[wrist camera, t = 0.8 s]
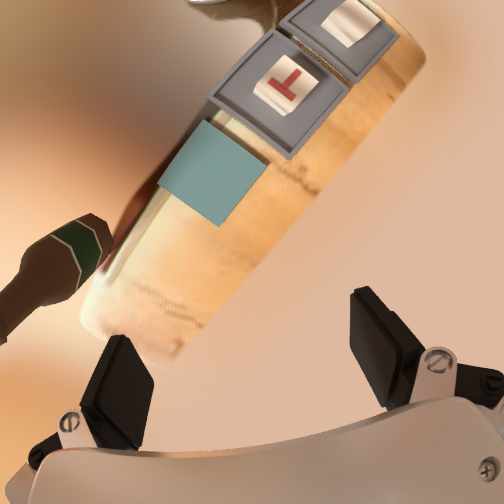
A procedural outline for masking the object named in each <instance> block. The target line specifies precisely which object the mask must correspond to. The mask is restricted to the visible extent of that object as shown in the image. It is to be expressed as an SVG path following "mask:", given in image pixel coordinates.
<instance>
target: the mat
mask: <svg viewBox="0 0 504 504" xmlns="http://www.w3.org/2000/svg"><path fill="white" fill-rule="evenodd" d="M266 167H267V166H266V165H265V164H263V163H262V162H261V161H260V160H258V159H257V158H256V157H254V156H253V155H252V154H251V153H249V152H248V151H247V150H245V149H244V148H243V147H241V146H240V145H239V144H237V143H236V142H235V141H233V140H232V139H231V138H229V137H228V136H226V135H225V134H224V133H222V132H221V131H220V130H218V129H217V128H215V127H214V126H213V125H211V124H210V123H208V122H207V121H205V120H204V119H203V121H202V122H201V123H200V124H199V126H198V127H197V128H196V130H195V131H194V132H193V133H192V135H191V136H190V137H189V139H188V140H187V141H186V143H185V144H184V145H183V147H182V148H181V149H180V151H179V152H178V154H177V155H176V156H175V158H174V159H173V161H172V162H171V163H170V165H169V166H168V168H167V169H166V171H165V172H164V174H163V175H162V177H161V178H160V179H159V181H158V182H157V184H159V185H160V186H162V187H163V188H164V189H166V190H167V191H169V192H170V193H171V194H173V195H174V196H176V197H177V198H178V199H180V200H181V201H183V202H184V203H185V204H187V205H188V206H190V207H191V208H193V209H194V210H195V211H197V212H198V213H200V214H201V215H202V216H204V217H205V218H207V219H208V220H209V221H211V222H212V223H214V224H215V225H216V226H218V227H220V225H221V224H222V223H223V221H224V220H225V219H226V218H227V216H228V215H229V214H230V212H231V211H232V210H233V209H234V207H235V206H236V205H237V203H238V202H239V201H240V200H241V198H242V197H243V196H244V195H245V193H246V192H247V191H248V190H249V188H250V187H251V186H252V184H253V183H254V182H255V181H256V180H257V178H258V177H259V176H260V175H261V173H262V172H263V171H264V170H265V168H266Z"/></svg>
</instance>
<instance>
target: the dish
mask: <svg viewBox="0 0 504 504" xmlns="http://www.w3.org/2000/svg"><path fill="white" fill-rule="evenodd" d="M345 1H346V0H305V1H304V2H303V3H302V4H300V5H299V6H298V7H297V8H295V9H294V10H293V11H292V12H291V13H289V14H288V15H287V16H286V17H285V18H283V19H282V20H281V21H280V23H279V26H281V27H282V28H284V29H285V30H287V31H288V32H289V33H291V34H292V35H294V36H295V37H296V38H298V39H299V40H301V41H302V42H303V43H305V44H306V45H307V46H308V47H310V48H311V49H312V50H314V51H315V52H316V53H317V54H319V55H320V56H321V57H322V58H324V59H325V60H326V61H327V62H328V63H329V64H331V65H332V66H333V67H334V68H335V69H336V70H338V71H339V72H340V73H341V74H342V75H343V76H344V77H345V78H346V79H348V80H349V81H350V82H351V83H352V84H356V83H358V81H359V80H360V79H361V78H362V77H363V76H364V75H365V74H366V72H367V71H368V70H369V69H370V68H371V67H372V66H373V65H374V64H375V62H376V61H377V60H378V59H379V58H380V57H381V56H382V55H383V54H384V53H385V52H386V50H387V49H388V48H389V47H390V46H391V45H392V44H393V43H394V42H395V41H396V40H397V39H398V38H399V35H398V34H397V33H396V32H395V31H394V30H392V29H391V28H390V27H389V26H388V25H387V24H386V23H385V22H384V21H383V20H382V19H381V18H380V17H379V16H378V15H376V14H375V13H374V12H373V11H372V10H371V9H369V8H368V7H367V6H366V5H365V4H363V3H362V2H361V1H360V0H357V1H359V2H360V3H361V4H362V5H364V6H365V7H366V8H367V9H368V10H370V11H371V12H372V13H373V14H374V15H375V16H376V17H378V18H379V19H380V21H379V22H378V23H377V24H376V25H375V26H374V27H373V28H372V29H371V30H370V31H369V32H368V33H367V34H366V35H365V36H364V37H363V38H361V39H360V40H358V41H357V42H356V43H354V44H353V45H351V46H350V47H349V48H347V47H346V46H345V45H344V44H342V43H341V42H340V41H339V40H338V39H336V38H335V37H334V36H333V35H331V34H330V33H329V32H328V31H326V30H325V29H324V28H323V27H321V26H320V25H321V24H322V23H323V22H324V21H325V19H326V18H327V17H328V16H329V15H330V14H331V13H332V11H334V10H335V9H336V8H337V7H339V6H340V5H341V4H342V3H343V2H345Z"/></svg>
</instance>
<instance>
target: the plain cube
mask: <svg viewBox="0 0 504 504" xmlns="http://www.w3.org/2000/svg"><path fill="white" fill-rule="evenodd" d="M379 21H380V19H379V18H378V17H376V16H375V15H374V14H373V13H372V12H371V11H370V10H368V9H367V8H366V7H365V6H364V5H362V4H361V3H360V2H359V1H357V0H346V1H345V2H343V3H342V4H341V5H340V6H339V7H337V8H336V9H335V10H334V11H332V13H331V14H330V15H329V16H328V17H327V18H326V19H325V21H324V22H323V23H322V24H321V25H320V26H321V27H323V28H324V29H325V30H326V31H328V32H329V33H330V34H331V35H333V36H334V37H335V38H336V39H338V40H339V41H340V42H341V43H342V44H344V45H345V46H346V47H347V48H349V47H350V46H351V45H353V44H354V43H356V42H357V41H358V40H360V39H361V38H363V37H364V36H365V35H366V34H367V33H368V32H369V31H370V30H371V29H372V28H373V27H374V26H375V25H376V24H377V23H378V22H379Z"/></svg>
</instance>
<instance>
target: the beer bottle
mask: <svg viewBox="0 0 504 504" xmlns="http://www.w3.org/2000/svg"><path fill="white" fill-rule="evenodd" d="M112 243H113V238H112V235H111V233H110V230H109V228H108V225H107V222H106V221H104V220H102V219H100V218H99V217H97V216H95V215H93V214H92V213H89V214H87V215H84V216H82V217H80V218H77V219H75V220H73V221H70V222H69V223H67V224H65V225H63V226H62V227H60V228H58V229H56V230H55V231H53V232H51V233H50V234H48V235H46V236H45V237H43V238H41V239H40V240H38V241H37V242H35V243H34V244H32V245H31V246H30V247H29V248H28V249H27V250H26V252H25V253H24V255H23V257H22V259H21V264H20V270H19V272H18V274H17V275H16V276H15V277H14V279H13V280H12V281H11V282H10V283H9V284H8V285H7V286H6V287H5V288H4V289H3V290H2V291H1V292H0V346H1V345H2V344H4V343H6V342H7V336H8V335H9V334H10V333H11V332H12V331H13V330H14V329H15V328H16V327H17V326H18V325H19V324H20V323H21V322H22V321H23V320H24V319H25V318H26V317H28V316H29V315H30V314H31V313H32V312H33V311H34V310H35V309H36V308H38V307H40V306H47V305H51V304H56V303H59V302H62V301H65V300H67V299H69V298H70V297H71V296H72V295H73V294H74V293H75V292H76V291H77V290H78V289H79V288H80V287H81V286H82V285H83V283H84V282H85V281H86V280H87V279H88V278H89V277H90V276H91V275H92V274H93V273H94V272H95V270H96V269H97V268H98V267H99V266H100V265H101V264H102V263H103V262H104V261H105V260H106V258H107V257H108V254H109V251H110V248H111V246H112Z"/></svg>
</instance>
